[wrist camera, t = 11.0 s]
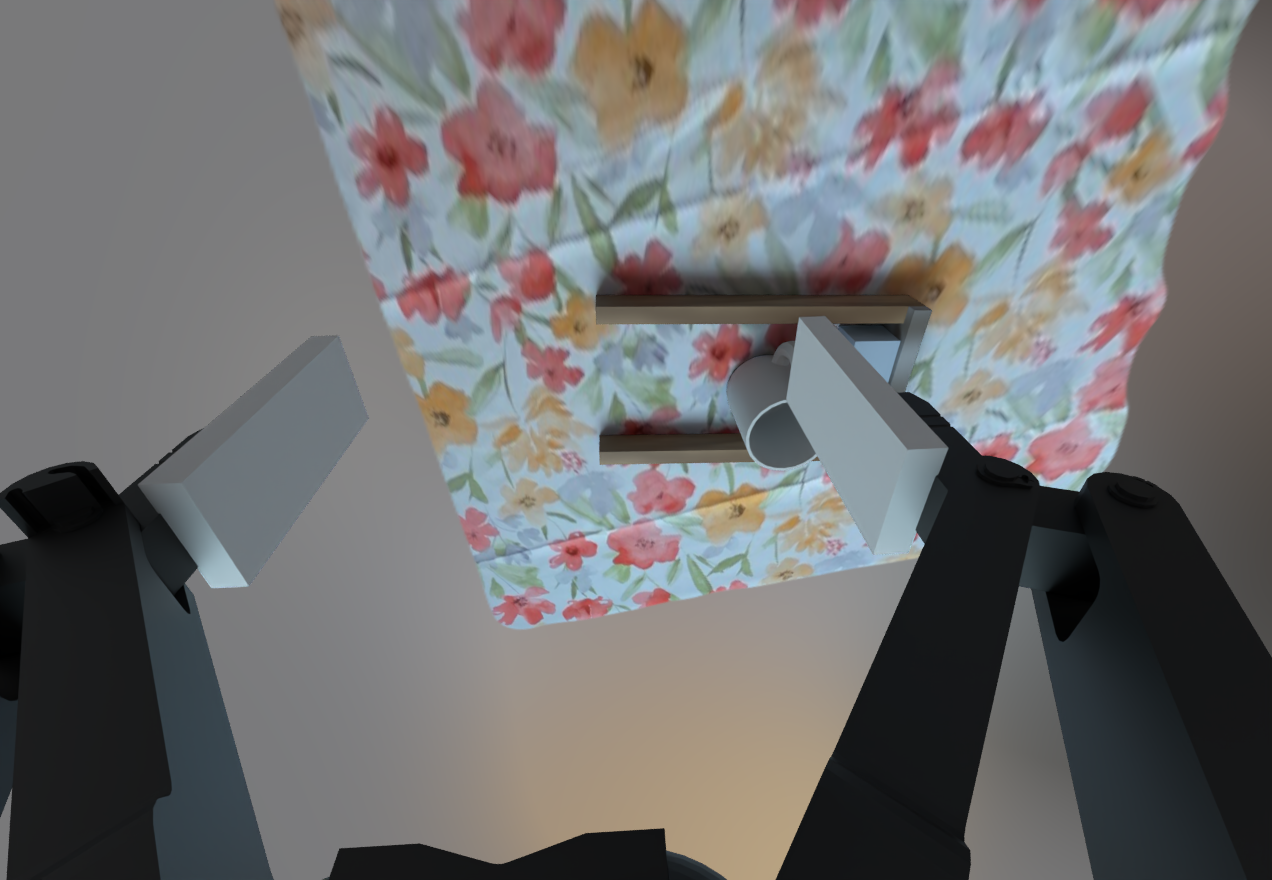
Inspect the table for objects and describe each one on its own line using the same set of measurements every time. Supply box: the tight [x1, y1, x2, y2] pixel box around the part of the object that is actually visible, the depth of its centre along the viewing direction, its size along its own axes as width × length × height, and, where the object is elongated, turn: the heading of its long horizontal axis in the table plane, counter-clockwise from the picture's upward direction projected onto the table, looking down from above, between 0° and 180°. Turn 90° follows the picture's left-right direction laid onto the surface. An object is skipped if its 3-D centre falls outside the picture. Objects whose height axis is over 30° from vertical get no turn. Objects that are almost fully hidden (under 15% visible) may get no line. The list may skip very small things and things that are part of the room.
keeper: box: [838, 325, 900, 383], centre depth 50 cm, size 11×4×4 cm
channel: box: [596, 295, 932, 465], centre depth 49 cm, size 16×28×4 cm, turn 89°
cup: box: [726, 341, 817, 470], centre depth 47 cm, size 7×10×9 cm
